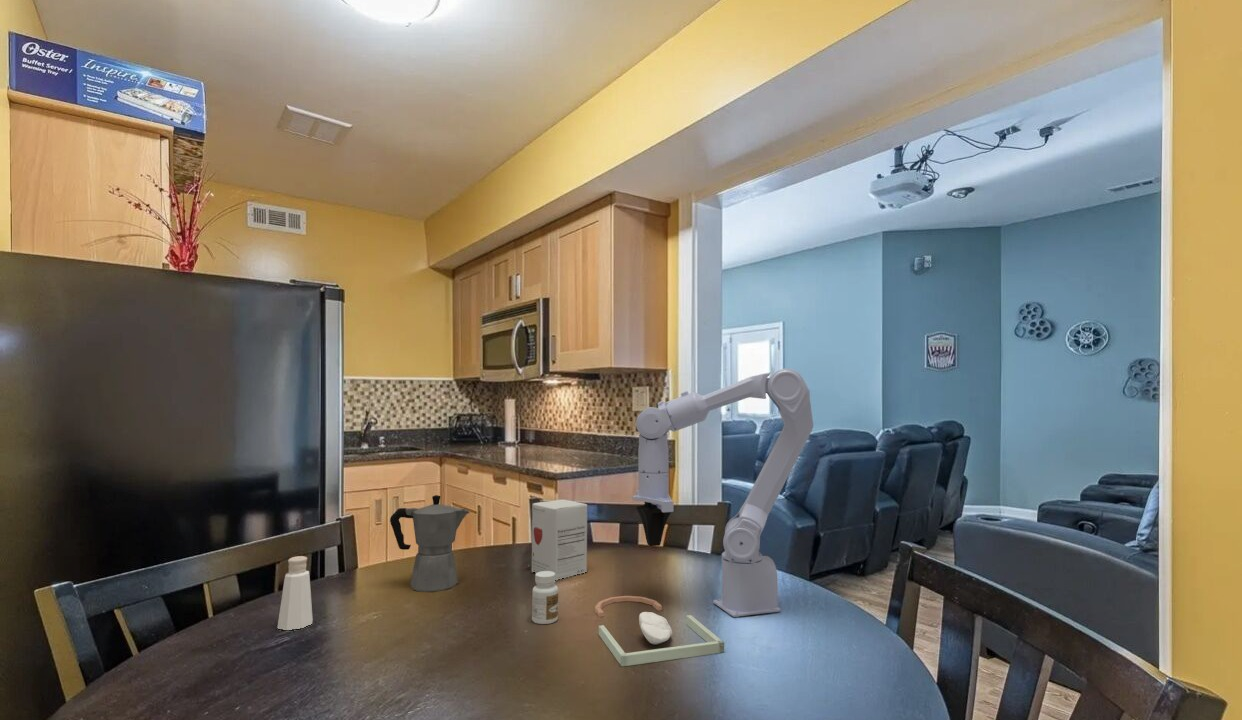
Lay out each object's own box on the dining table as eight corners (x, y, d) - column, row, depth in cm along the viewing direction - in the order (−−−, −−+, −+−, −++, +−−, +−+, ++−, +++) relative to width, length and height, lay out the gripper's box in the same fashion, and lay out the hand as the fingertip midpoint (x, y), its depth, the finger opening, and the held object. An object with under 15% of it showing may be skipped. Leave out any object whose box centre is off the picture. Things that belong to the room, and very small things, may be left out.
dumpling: (638, 633, 95) (638, 607, 96) (670, 633, 95) (670, 607, 96) (639, 651, 88) (639, 623, 89) (674, 651, 88) (674, 624, 89)
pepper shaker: (318, 625, 98) (321, 557, 99) (282, 634, 94) (285, 563, 95) (306, 617, 102) (309, 552, 103) (271, 625, 98) (274, 557, 99)
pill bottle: (553, 625, 98) (553, 578, 99) (528, 623, 99) (528, 576, 100) (561, 616, 103) (561, 570, 103) (537, 614, 103) (537, 569, 104)
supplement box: (529, 572, 129) (530, 502, 130) (562, 564, 135) (563, 498, 136) (554, 581, 123) (555, 508, 124) (588, 573, 129) (588, 503, 130)
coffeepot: (468, 576, 126) (470, 490, 127) (467, 590, 117) (468, 497, 118) (391, 581, 123) (394, 493, 124) (384, 595, 114) (386, 500, 115)
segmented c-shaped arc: (647, 597, 113) (647, 593, 113) (661, 610, 106) (661, 605, 106) (588, 603, 109) (588, 599, 109) (599, 617, 102) (599, 612, 102)
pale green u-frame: (690, 623, 99) (690, 614, 99) (724, 652, 88) (724, 642, 88) (598, 634, 94) (598, 625, 95) (621, 666, 83) (621, 656, 83)
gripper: (621, 468, 117) (621, 538, 116) (647, 476, 104) (647, 556, 103) (654, 467, 120) (655, 535, 119) (684, 475, 106) (684, 553, 105)
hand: (653, 545), depth 111 cm, fingers closed
